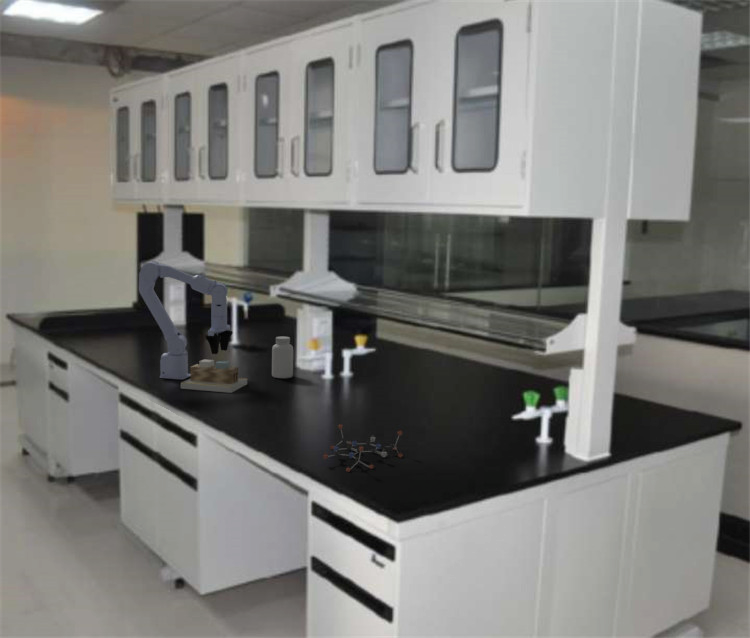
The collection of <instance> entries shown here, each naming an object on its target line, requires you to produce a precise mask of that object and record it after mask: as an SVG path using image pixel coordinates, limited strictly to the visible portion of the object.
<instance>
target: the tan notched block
mask: <svg viewBox="0 0 750 638" xmlns="http://www.w3.org/2000/svg"><path fill="white" fill-rule="evenodd" d="M189 368H190V374H191V376H190V379H191V381H202V382H214V383H227V384H233V383H235V382H236V381H238V378H239V366H230V367H228V368H226V369H220V368H215V364H214V366H212V367H210V368H207V367H199V364H198V363H196V364H194V365H192V366H190V367H189Z"/></svg>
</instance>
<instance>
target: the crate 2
mask: <svg viewBox="0 0 750 638" xmlns="http://www.w3.org/2000/svg"><path fill="white" fill-rule="evenodd" d="M214 365H215V368H220V369H226V368H228V367H231V361H230V360H218V361H216V362H215V361H214Z"/></svg>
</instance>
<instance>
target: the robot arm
mask: <svg viewBox="0 0 750 638" xmlns="http://www.w3.org/2000/svg"><path fill="white" fill-rule="evenodd" d="M205 276H206V275H205V274H201V275H200V274H196V275H191V274H188V273H187V272H184V271H182V270H180V269H178V268H176V267H173V266H171V265H168V264H165V263H161V262H158V261H157V260H150V261H149V262H146V263H144V264H143V265H142V267H141V268H140V271H139V273H138V293H139V294H140V297H142V299H143V301H144V303H145V304H146V306H147V309H148V310H149V311H150V313H151V315H152V316H153V318H154V320H155V322H156V323H157V325H158V326H159V328H160V330H161V331H162V334H163V337H164V339H165V342H166V343H167V346H166V347H167V350H168V351H167V352H164V353H162V355H161V356H160V361H159V362H160V365H159V366H160V367H159V368H160V375H159V378H160V379H171V380H186V379H187V378H191V373H189V372H188V371H189V369H188V367H189V366H188V364H189V363H188V361H189V360H188V358H189V357H188V350H187V349H186V347H187V346H188V340H187V337H186V336H185V335H184V334H182V333H181V332H180V330H179V329H178V328H177V326H175V323H174V322H173V321H172V319H171V317H170V315H169V314H168V312H167V310H166V309H165V307H164V305H163V303H162V302H161V300H160V299H159V296H158V295H157V293H156V291H155V290H154V289H155V286H156V285H155V284H156V282H157V280H158V279H159V278H160V279H162V278H172V279H174V280H177V281H180V282H181V283H185V284H188V285H190V287H191V289H192V290H194V291H196V292H199V293H201V294H204V295H206V296H210V297H211V303H210V304H211V305H210V306H211V307H210V308H211V312H210V314H211V315H210V316H211V317H210V318H211V322H210V323H211V327H210V328H209V330H207V334H205V340H207V342H208V344H209V347H210V351H211V352H210V353H211V354H212V355H218V354H219V348H220V350H221V351H225V352H226V351H228V348H229V343H230V339H231V337H232V335H233V330H231V325H230V324H228V303H227V300H228V299H227V295H228V288H227V286H226V285H225V284H224V283H222V282H220V281H219V282H218V281H217V280H216V279H214V280H212V279H211V278H210V279H209V277H205Z"/></svg>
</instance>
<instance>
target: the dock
mask: <svg viewBox="0 0 750 638" xmlns="http://www.w3.org/2000/svg"><path fill="white" fill-rule="evenodd" d="M246 385H248V378H246V377H245V378H243V377H238V381H236V382H235V383H233V384H227V383H214V382H202V381H191V378H188V379H185V380H184V381H181V382H180V389H182V390H183V389H184V390H192V391H194V390H195V391H207V392H219V393H229V394H232V393H234V392H235V391H237V390H239V389H241V388H242V387H243V388H244V387H245V386H246Z"/></svg>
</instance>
